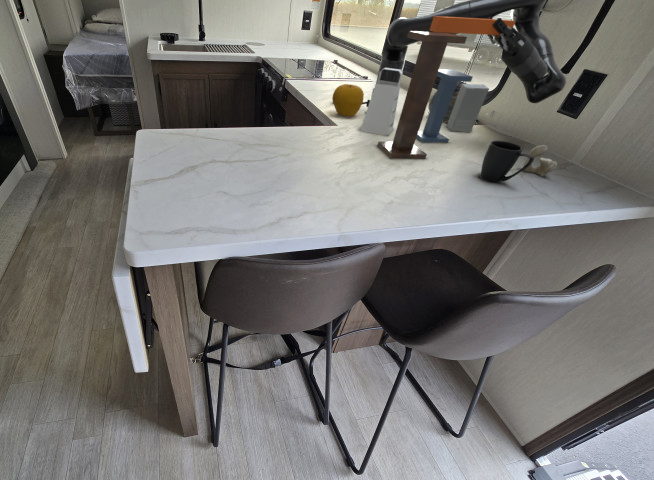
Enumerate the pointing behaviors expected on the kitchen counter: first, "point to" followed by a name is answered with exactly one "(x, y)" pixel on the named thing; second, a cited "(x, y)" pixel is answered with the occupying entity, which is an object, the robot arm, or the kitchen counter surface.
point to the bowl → (449, 104)
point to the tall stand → (418, 93)
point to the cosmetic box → (467, 107)
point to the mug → (502, 161)
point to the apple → (347, 99)
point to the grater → (382, 107)
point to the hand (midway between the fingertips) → (491, 20)
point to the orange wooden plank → (466, 25)
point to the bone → (545, 163)
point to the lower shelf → (441, 105)
